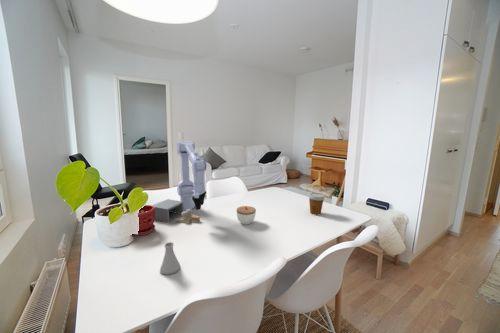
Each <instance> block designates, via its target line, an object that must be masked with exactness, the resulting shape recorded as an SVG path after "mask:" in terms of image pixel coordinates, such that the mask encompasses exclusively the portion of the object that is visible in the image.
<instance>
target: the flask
mask: <svg viewBox="0 0 500 333" xmlns="http://www.w3.org/2000/svg"><path fill="white" fill-rule="evenodd" d="M164 248H165V250H164V251H165V252H164V256H163V259H162V263H161V265H160V269H159V274H162V275H167V276H168V275H173V274H176V273H177V272H178V271H179V270H180V269H181V265H180V262H179V260H178V257H177V256H176V254H175V252H174V242H171V241H169V242H165V243H164Z"/></svg>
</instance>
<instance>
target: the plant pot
mask: <svg viewBox="0 0 500 333" xmlns="http://www.w3.org/2000/svg"><path fill="white" fill-rule="evenodd" d="M144 205H145V204H144ZM142 210H143V211H144V212H143V213H142V212H141V211H142ZM138 217H139V231H138V235H137V236H144V235H147V234H149V233H152V232H153V231H154V230H155V228H156V224H155V221H156V220H155V207H154V206H152V205H149V204H146V205H145V206H144V207H143V208H141V209H140V210H139V213H138Z"/></svg>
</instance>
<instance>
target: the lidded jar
mask: <svg viewBox="0 0 500 333" xmlns="http://www.w3.org/2000/svg"><path fill="white" fill-rule="evenodd" d="M236 217H237V218H236V219H237V221H239V223H240V224H242V225H250V224H252V223H253V221H255V217H256V207H253V206H250V205H249V206H248V205H244V206H238V207H237V208H236Z"/></svg>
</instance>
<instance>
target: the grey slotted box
mask: <svg viewBox="0 0 500 333" xmlns="http://www.w3.org/2000/svg"><path fill="white" fill-rule="evenodd" d="M151 206H154V207H155V221H156V220H157V221H160V222H165V223H166V222H167V223H169V222H170V213H174V212H176V213H175V214H179V213H181V214H180V215H182V212H185V210H184V205H183V202H182V201H180V200H174V199H169V198H167V199H165V200H161V201H160V202H157V203H155V204H153V205H151ZM169 211H171V212H169Z"/></svg>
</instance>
